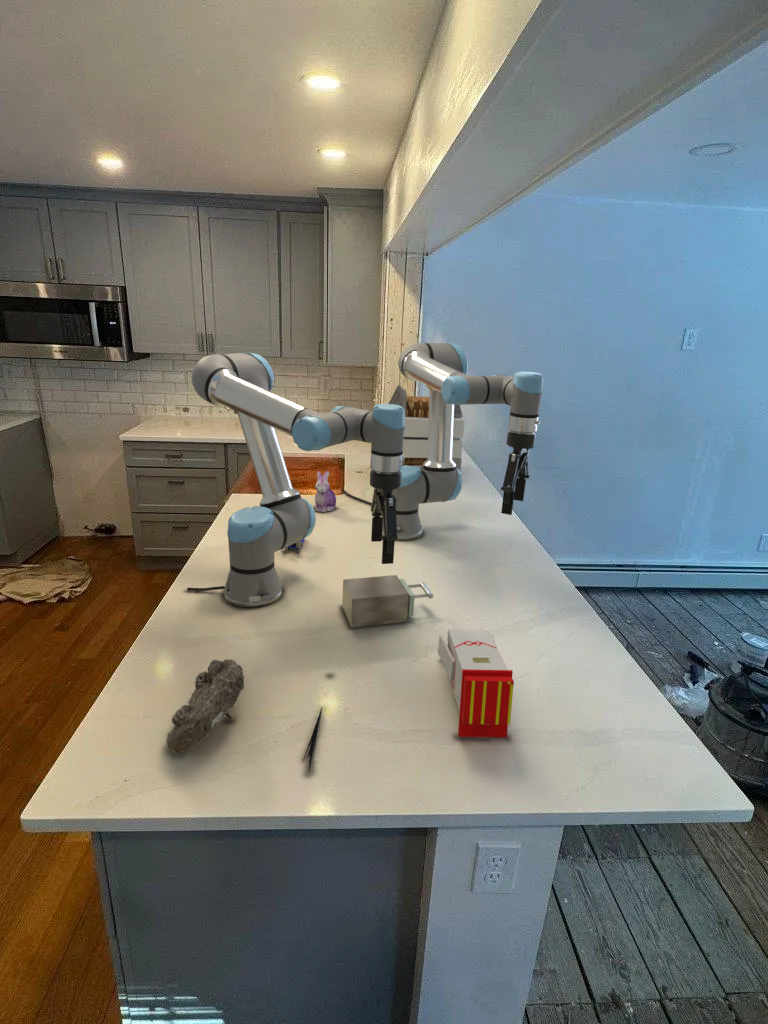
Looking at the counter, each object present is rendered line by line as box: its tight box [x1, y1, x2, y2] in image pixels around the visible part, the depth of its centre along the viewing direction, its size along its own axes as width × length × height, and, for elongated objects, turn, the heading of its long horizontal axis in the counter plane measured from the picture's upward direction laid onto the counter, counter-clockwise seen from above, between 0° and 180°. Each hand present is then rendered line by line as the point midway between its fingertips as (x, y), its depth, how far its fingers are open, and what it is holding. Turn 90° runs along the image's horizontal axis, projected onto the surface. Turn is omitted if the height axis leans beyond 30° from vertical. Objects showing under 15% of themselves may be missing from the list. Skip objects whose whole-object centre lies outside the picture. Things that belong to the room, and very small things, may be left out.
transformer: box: [387, 384, 465, 474], centre depth 268 cm, size 34×33×41 cm
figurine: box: [314, 470, 337, 513], centre depth 218 cm, size 9×10×15 cm
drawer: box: [399, 578, 434, 618], centre depth 147 cm, size 19×10×6 cm, turn 106°
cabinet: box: [341, 574, 409, 629], centre depth 146 cm, size 14×11×8 cm
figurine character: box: [286, 538, 306, 553], centre depth 185 cm, size 7×8×15 cm
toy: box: [437, 628, 515, 738], centre depth 117 cm, size 12×13×30 cm
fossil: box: [166, 658, 245, 754], centre depth 106 cm, size 22×10×15 cm
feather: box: [301, 673, 332, 771], centre depth 108 cm, size 2×28×2 cm
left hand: (381, 551), depth 143 cm, fingers open, 13 cm apart
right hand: (512, 506), depth 159 cm, fingers open, 13 cm apart
